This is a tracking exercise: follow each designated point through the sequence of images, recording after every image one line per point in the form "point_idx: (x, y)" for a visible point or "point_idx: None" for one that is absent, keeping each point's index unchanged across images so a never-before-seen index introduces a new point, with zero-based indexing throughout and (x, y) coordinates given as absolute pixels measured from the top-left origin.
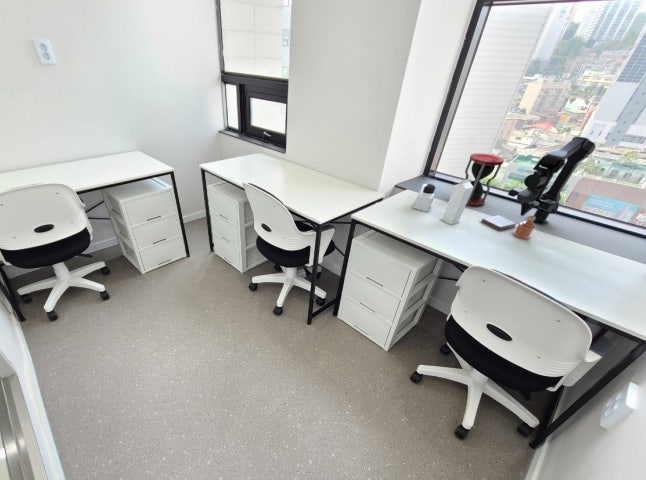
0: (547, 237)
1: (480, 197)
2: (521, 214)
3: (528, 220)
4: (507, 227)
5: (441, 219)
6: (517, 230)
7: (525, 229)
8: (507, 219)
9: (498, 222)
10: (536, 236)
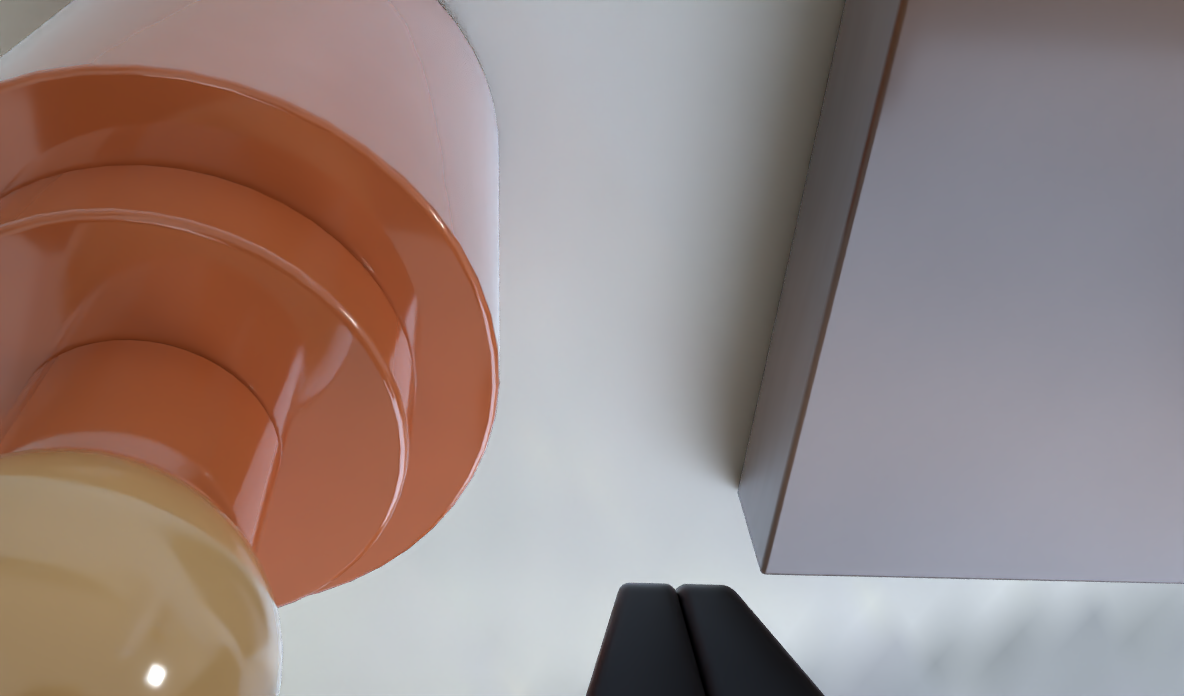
0: None
1: None
2: (704, 628)
3: (63, 443)
4: (816, 214)
5: None
6: (355, 14)
7: (9, 63)
8: (1041, 564)
9: (1178, 110)
10: None
